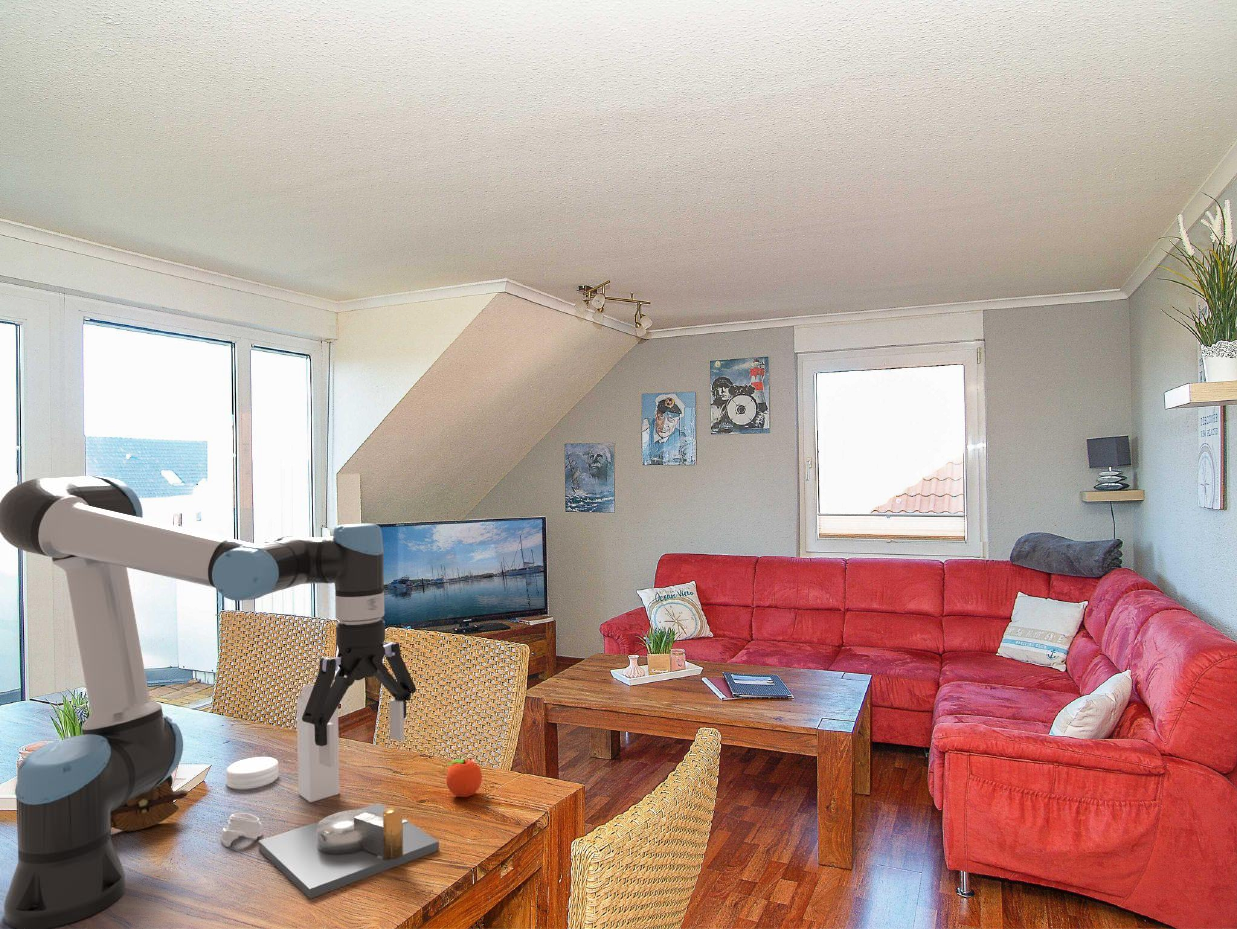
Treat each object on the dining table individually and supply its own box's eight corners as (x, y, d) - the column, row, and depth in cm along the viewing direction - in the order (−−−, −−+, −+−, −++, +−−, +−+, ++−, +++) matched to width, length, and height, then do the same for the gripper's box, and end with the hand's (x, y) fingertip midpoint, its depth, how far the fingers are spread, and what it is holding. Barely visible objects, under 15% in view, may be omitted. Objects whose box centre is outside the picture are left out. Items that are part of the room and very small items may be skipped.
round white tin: (260, 791, 165) (260, 774, 165) (215, 789, 166) (215, 772, 166) (288, 773, 174) (287, 756, 174) (245, 771, 176) (245, 754, 176)
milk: (339, 794, 162) (338, 683, 162) (309, 803, 158) (308, 689, 158) (326, 785, 167) (325, 677, 167) (297, 793, 163) (296, 683, 163)
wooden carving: (84, 846, 142) (83, 788, 142) (84, 836, 145) (83, 780, 145) (190, 821, 151) (189, 767, 151) (187, 813, 155) (187, 760, 154)
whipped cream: (216, 841, 145) (212, 814, 145) (256, 826, 149) (252, 800, 149) (228, 854, 139) (224, 826, 139) (269, 838, 143) (265, 811, 143)
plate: (309, 898, 123) (309, 887, 123) (258, 849, 139) (258, 839, 139) (439, 850, 138) (438, 840, 138) (379, 810, 154) (379, 801, 154)
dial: (304, 844, 137) (303, 801, 137) (352, 822, 145) (351, 781, 145) (375, 871, 128) (374, 824, 128) (422, 845, 136) (421, 801, 136)
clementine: (435, 801, 158) (434, 764, 158) (451, 787, 165) (450, 752, 165) (473, 804, 156) (473, 767, 156) (487, 790, 163) (487, 754, 163)
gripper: (305, 636, 119) (308, 782, 119) (435, 609, 139) (438, 733, 139) (275, 631, 123) (279, 771, 123) (405, 605, 144) (408, 726, 144)
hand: (363, 751), depth 131 cm, fingers open, 13 cm apart
